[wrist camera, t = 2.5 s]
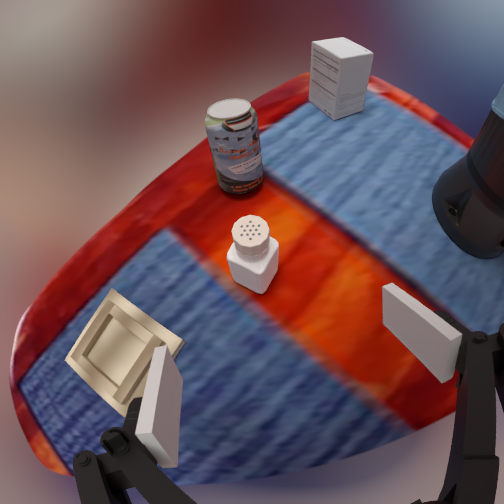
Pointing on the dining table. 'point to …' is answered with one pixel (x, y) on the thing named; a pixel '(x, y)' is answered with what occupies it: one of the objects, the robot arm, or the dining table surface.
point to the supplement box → (339, 76)
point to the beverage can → (235, 145)
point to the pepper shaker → (253, 254)
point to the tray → (119, 350)
